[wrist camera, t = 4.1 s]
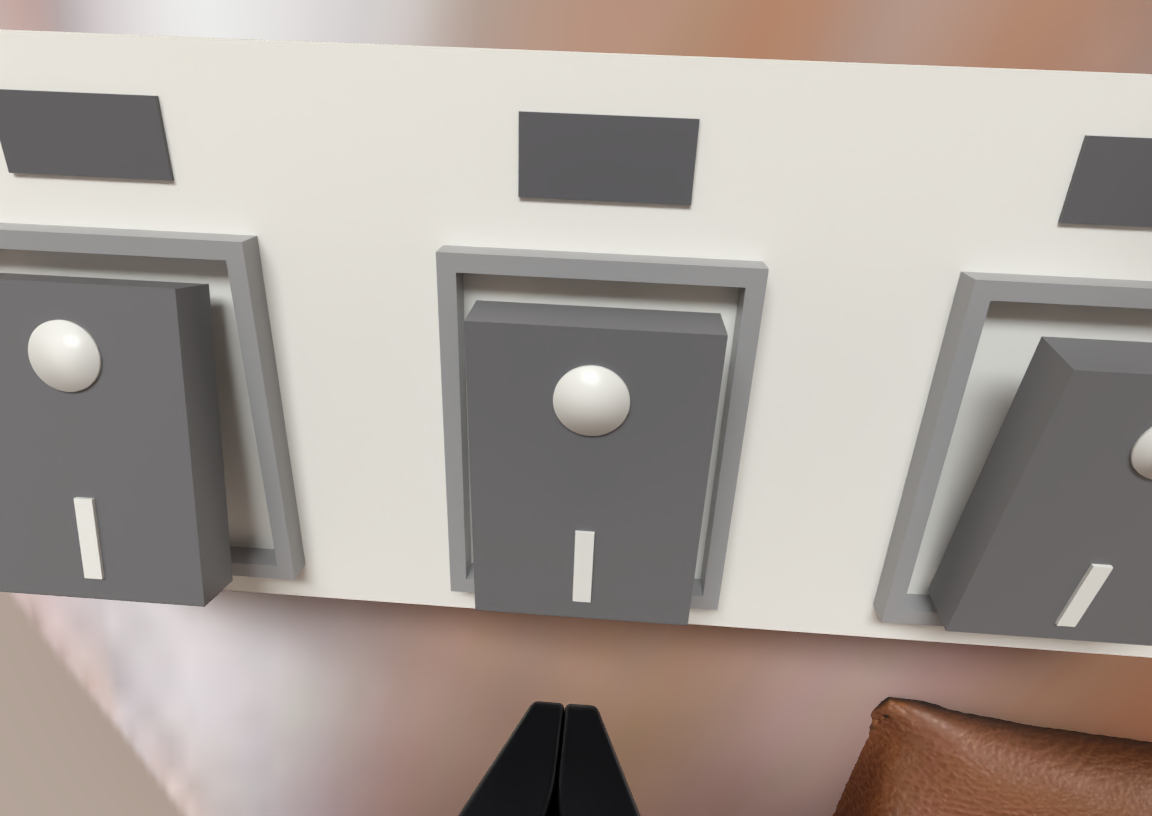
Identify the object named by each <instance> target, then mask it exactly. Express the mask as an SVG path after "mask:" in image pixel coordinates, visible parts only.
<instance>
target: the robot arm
mask: <svg viewBox="0 0 1152 816" xmlns="http://www.w3.org/2000/svg"><path fill="white" fill-rule="evenodd" d="M458 816H640V814H639V811H638V809H637V806H636V804H635V801H634V798H633V796H632V793H631V791H630V788H629V786H628V783H627V781H626V778H625V776H624V773H623V771H622V768H621V766H620V763H619V761H618V758H617V756H616V753H615V751H614V748H613V746H612V743H611V741H610V738H609V736H608V733H607V731H606V728H605V725H604V723H603V720H602V718H601V715H600V713H599V711H598V709H597V708H596V707H595V706H591V705H578V704H569V705H567V706H566V708H565V710H564V706H563V705H562V704H560V703H552V702H539V701H538V702H534V703H533V704H532V705H531V706H530V707H529V709H528V710H527V712H526V713H525V715H524V716H523V718H522V719H521V721H520V722H519V724H518V725H517V727H516V728H515V730H514V731H513V733H512V735H511V736H510V738H509V739H508V741H507V742H506V744H505V745H504V747H503V748H502V750H501V751H500V753H499V754H498V756H497V757H496V759H495V760H494V762H493V763H492V765H491V767H490V768H489V770H488V771H487V773H486V774H485V776H484V777H483V779H482V780H481V782H480V783H479V785H478V786H477V788H476V789H475V791H474V792H473V794H472V795H471V797H470V799H469V800H468V802H467V803H466V805H465V806H464V808H463V809H462V811H461V812H460V814H459V815H458Z"/></svg>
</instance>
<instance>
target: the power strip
mask: <svg viewBox="0 0 1152 816" xmlns="http://www.w3.org/2000/svg"><path fill="white" fill-rule="evenodd" d="M0 273H15V274H33V275H52V276H70V277H89V278H108V279H126V280H145V281H163V282H182V283H200V284H209V292H210V304H211V317H212V329H213V341H214V354H215V366H216V378H217V391H218V403H219V415H220V428H221V440H222V452H223V465H224V477H225V489H226V502H227V514H228V526H229V539H230V551H231V564H232V576H233V581H232V582H231V583H229V584H228V585H227V586H226V587H225V588H224V589H223V590H229V591H243V592H256V593H270V594H284V595H298V596H311V597H325V598H339V599H353V600H366V601H380V602H394V603H408V604H422V605H435V606H449V607H463V608H475V589H474V563H473V537H472V511H471V485H470V459H469V433H468V407H467V381H466V355H465V329H464V320H465V319H466V317H467V315H468V314H469V312H470V310H471V309H472V307H473V305H474V304H475V302H476V300H482V301H501V302H519V303H538V304H556V305H575V306H593V307H612V308H630V309H649V310H667V311H686V312H704V313H720V314H721V317H722V320H723V323H724V325H725V328H726V331H727V334H728V339H727V346H726V353H725V360H724V367H723V375H722V382H721V389H720V396H719V403H718V411H717V418H716V425H715V432H714V439H713V447H712V454H711V461H710V468H709V475H708V483H707V490H706V497H705V504H704V511H703V519H702V526H701V533H700V540H699V547H698V555H697V562H696V569H695V576H694V583H693V591H692V598H691V605H690V612H689V619H688V624H697V625H711V626H725V627H738V628H752V629H766V630H780V631H794V632H807V633H821V634H835V635H849V636H862V637H876V638H890V639H904V640H918V641H931V642H945V643H959V644H973V645H986V646H1000V647H1014V648H1028V649H1042V650H1055V651H1069V652H1083V653H1097V654H1110V655H1124V656H1138V657H1152V646H1147V645H1133V644H1119V643H1105V642H1092V641H1078V640H1064V639H1050V638H1036V637H1022V636H1008V635H994V634H980V633H966V632H952V631H945V628H944V626H943V624H942V621H941V619H940V617H939V614H938V612H937V610H936V607H935V605H934V603H933V601H932V598H931V596H930V594H929V591H928V589H929V587H930V584H931V582H932V580H933V578H934V575H935V573H936V571H937V569H938V567H939V564H940V562H941V560H942V558H943V555H944V553H945V551H946V549H947V546H948V544H949V542H950V540H951V538H952V535H953V533H954V531H955V529H956V526H957V524H958V522H959V520H960V517H961V515H962V513H963V511H964V508H965V506H966V504H967V502H968V500H969V497H970V495H971V493H972V491H973V488H974V486H975V484H976V482H977V479H978V477H979V475H980V473H981V471H982V468H983V466H984V464H985V462H986V459H987V457H988V455H989V453H990V450H991V448H992V446H993V444H994V442H995V439H996V437H997V435H998V433H999V430H1000V428H1001V426H1002V424H1003V421H1004V419H1005V417H1006V415H1007V413H1008V410H1009V408H1010V406H1011V404H1012V401H1013V399H1014V397H1015V395H1016V392H1017V390H1018V388H1019V386H1020V384H1021V381H1022V379H1023V377H1024V375H1025V372H1026V370H1027V368H1028V366H1029V363H1030V361H1031V359H1032V357H1033V355H1034V352H1035V350H1036V348H1037V346H1038V343H1039V341H1040V339H1041V337H1042V336H1043V337H1061V338H1080V339H1098V340H1117V341H1135V342H1152V74H1131V73H1106V72H1080V71H1054V70H1028V69H1003V68H977V67H951V66H925V65H900V64H874V63H848V62H822V61H797V60H771V59H745V58H720V57H694V56H668V55H642V54H617V53H591V52H565V51H539V50H514V49H488V48H462V47H436V46H411V45H385V44H359V43H333V42H308V41H282V40H256V39H230V38H205V37H179V36H153V35H128V34H102V33H76V32H50V31H25V30H0Z"/></svg>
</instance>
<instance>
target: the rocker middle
mask: <svg viewBox="0 0 1152 816" xmlns="http://www.w3.org/2000/svg"><path fill="white" fill-rule="evenodd" d="M464 329H465V355H466V381H467V407H468V433H469V459H470V485H471V511H472V537H473V563H474V589H475V610H483V611H496V612H510V613H524V614H538V615H551V616H565V617H579V618H593V619H606V620H620V621H634V622H648V623H661V624H675V625H688V619H689V612H690V605H691V598H692V591H693V583H694V576H695V569H696V562H697V555H698V547H699V540H700V533H701V526H702V519H703V511H704V504H705V497H706V490H707V483H708V475H709V468H710V461H711V454H712V447H713V439H714V432H715V425H716V418H717V411H718V403H719V396H720V389H721V382H722V375H723V367H724V360H725V353H726V346H727V339H728V334H727V331H726V328H725V325H724V323H723V320H722V317H721V314H720V313H704V312H686V311H667V310H649V309H630V308H612V307H593V306H575V305H556V304H538V303H519V302H501V301H482V300H476V302H475V304H474V305H473V307H472V309H471V310H470V312H469V314H468V315H467V317H466V319H465V320H464Z"/></svg>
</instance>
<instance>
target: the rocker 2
mask: <svg viewBox="0 0 1152 816" xmlns="http://www.w3.org/2000/svg"><path fill="white" fill-rule="evenodd" d="M928 591H929V594H930V596H931V598H932V601H933V603H934V605H935V607H936V610H937V612H938V614H939V617H940V619H941V621H942V624H943V626H944V628H945V631H952V632H966V633H980V634H994V635H1008V636H1022V637H1036V638H1050V639H1064V640H1078V641H1092V642H1105V643H1119V644H1133V645H1147V646H1152V342H1135V341H1117V340H1098V339H1080V338H1061V337H1043V336H1042V337H1041V339H1040V341H1039V343H1038V346H1037V348H1036V350H1035V352H1034V355H1033V357H1032V359H1031V361H1030V363H1029V366H1028V368H1027V370H1026V372H1025V375H1024V377H1023V379H1022V381H1021V384H1020V386H1019V388H1018V390H1017V392H1016V395H1015V397H1014V399H1013V401H1012V404H1011V406H1010V408H1009V410H1008V413H1007V415H1006V417H1005V419H1004V421H1003V424H1002V426H1001V428H1000V430H999V433H998V435H997V437H996V439H995V442H994V444H993V446H992V448H991V450H990V453H989V455H988V457H987V459H986V462H985V464H984V466H983V468H982V471H981V473H980V475H979V477H978V479H977V482H976V484H975V486H974V488H973V491H972V493H971V495H970V497H969V500H968V502H967V504H966V506H965V508H964V511H963V513H962V515H961V517H960V520H959V522H958V524H957V526H956V529H955V531H954V533H953V535H952V538H951V540H950V542H949V544H948V546H947V549H946V551H945V553H944V555H943V558H942V560H941V562H940V564H939V567H938V569H937V571H936V573H935V575H934V578H933V580H932V582H931V584H930V587H929V589H928Z"/></svg>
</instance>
